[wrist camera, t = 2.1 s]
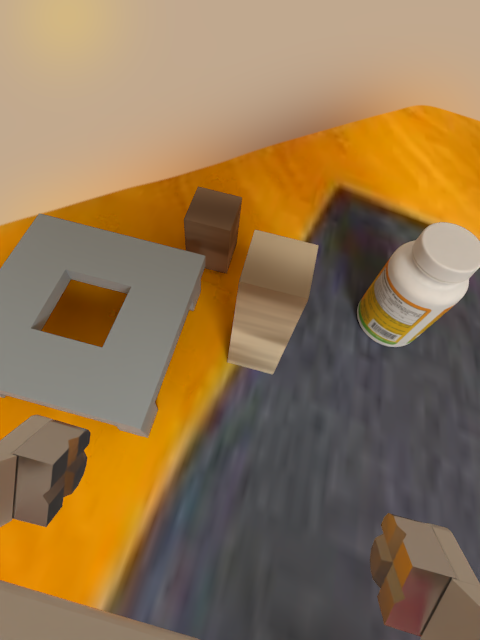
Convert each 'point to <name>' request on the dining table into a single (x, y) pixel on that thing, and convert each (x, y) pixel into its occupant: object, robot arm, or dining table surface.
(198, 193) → the walnut peg
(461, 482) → the dining table surface
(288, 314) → the maple peg
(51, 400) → the collar stand
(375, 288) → the supplement bottle
